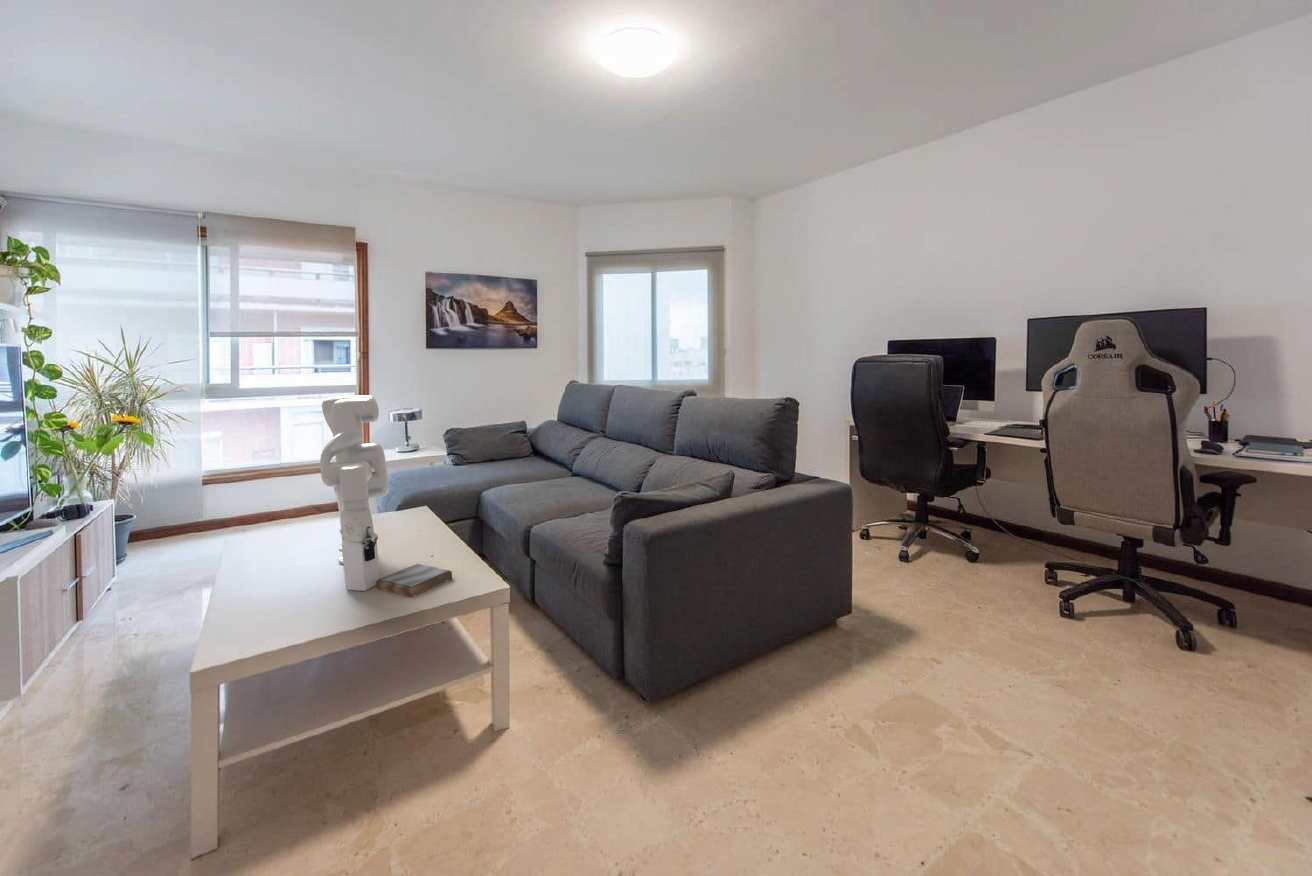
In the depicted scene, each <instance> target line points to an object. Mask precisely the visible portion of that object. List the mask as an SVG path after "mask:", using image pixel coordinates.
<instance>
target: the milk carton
mask: <svg viewBox="0 0 1312 876" xmlns="http://www.w3.org/2000/svg"><path fill="white" fill-rule="evenodd" d="M366 536H367V535H366ZM365 539H367V538H365ZM363 542H364V541H362V542H360V543H358V542H353V541H349V540H347V539H344V540H343V542H342V541H341V548H342V552H341V554H342V555H341V556H343V564H342V565H343V572H344V575H343V576H344V584H345V590H349V591H360V592H361V591H362V592H366V591H367V590H369V589H371V588H373V587H374V586H375V587H376V586H377V585H376V581H377V580H378V579H380V578H381V576H380V575H381V574H380V564H379V552H378V542H377V543H376V544H375V547H374V550H375V559H372V560H370V561H365V555H364V549H366V548H365V546H364V544H363ZM366 542H367V544H368V543H369V541H366Z"/></svg>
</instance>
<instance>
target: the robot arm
mask: <svg viewBox="0 0 1312 876" xmlns="http://www.w3.org/2000/svg"><path fill="white" fill-rule="evenodd" d="M378 405H379V404H378V403H377V400H376V399H375V397H374V396H373V395H370V394H368V395H367V394H365V395H364V394H363V395H362V394H361V395H341V396H338V395H337V396H332V397H331V396H330V397H327V398H325V399H324V400H322V403H321V411H322V414H323V417H324V418H323V419H324V420H325V421H326V423H327V426H328V427H329V429H330V432H331V433H332V437H333V438H331V439H330V440H329V441H328V442H327V443H326V444H325V446H324V447H323V449H322V451H321V454H320V457H319V458H320V462H319V463H320V475H321V481H322V483H323V484H324V485H325V486H326V487H330V488H331V487H332V488H333V491H334V495H335V498H336V501H337V507H338V508H337V509H338V516H339V525H340V529H339V534H340V535H341V543H342V542H343V540H344V539H347V540H349V541H353V542H358V543H360V542H362V541H364V542H363V544H364V546H365V548H366V549H364V555H365V561H370V560H372V559H375V550H374V547H375V544H376V543H377V544H378V542H377V541H378V539H379V535H378V534H377V533H376V532H375V531H374V524H373V523H374V522H373V517H372V513H371V509H370V499H376V498H383V497H385V496H386V495H387V494H388V492H389V478H388V471H387V470H388V469H387V463H386V457H385V456H386V455H385V451H384V449H383V446H382V445H380V444H378V443H374V442H372V443H370V442H369V443H362V440H363V432H362V431H363V430H362V424H361V423H363V424H364V423H374V422H377V421H378V419H379V415H380V414H379V413H380V411H379V406H378ZM333 458H335V462H332V463H331V460H332V459H333ZM366 535H367V536H366ZM365 538H367V539H365ZM366 541H369V543H368V544H367V542H366ZM338 551H339V552H341V553H342V547H339V549H338ZM338 562H339V563H340V564H342V565H343V555H341V556H340V557H339V558H338Z"/></svg>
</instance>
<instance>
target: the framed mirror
mask: <svg viewBox="0 0 1312 876" xmlns="http://www.w3.org/2000/svg"><path fill="white" fill-rule="evenodd" d="M447 580H448V581H450V580H453V572H452V570H450V569H445V568H439V567H434V566H429V565H424V564H421V563H420V564H419V563H416V564H414V565H411V566H408V567H405V568H403V569H400V570H398V571H395V572H393V573H390V574H388V575H386V576H383V577H380V579H378V580H377V581H376V585H375V586H376V589H377V588H378V589H377V590H381V591H386V592H391V593H395V594H399V595H402V594H403V596H406V595H407V596H406V597H411V598H413V597H415V596H418V595H419V594H422V593H424V592H426V591H429V590H430V588H431V589H433V588H435V587H437V586H439V584H440V585H442V584H444V583H446V582H448V581H447ZM445 581H446V582H445ZM443 582H444V583H443ZM441 583H442V584H441ZM432 587H433V588H432ZM414 595H415V596H414ZM412 596H413V597H412Z"/></svg>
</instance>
